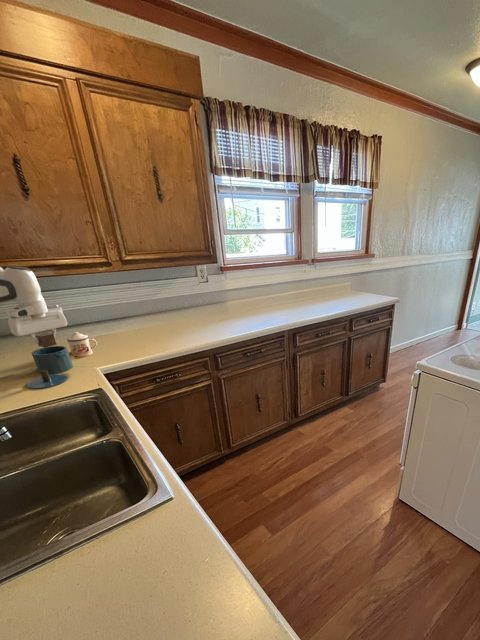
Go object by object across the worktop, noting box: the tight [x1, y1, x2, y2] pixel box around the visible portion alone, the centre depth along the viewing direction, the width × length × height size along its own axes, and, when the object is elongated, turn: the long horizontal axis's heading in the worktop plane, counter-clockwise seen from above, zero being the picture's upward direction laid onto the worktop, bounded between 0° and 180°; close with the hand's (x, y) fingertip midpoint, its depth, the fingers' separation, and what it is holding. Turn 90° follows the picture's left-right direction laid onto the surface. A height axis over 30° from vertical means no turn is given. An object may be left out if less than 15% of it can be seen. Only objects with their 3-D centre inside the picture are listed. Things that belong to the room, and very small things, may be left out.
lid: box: [26, 370, 69, 390], centre depth 132 cm, size 14×14×6 cm
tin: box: [31, 345, 74, 375], centre depth 144 cm, size 13×18×10 cm
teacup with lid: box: [66, 331, 98, 358], centre depth 163 cm, size 12×9×12 cm
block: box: [35, 332, 58, 348], centre depth 140 cm, size 5×5×5 cm
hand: (46, 341), depth 140 cm, fingers closed on block, 5 cm apart
